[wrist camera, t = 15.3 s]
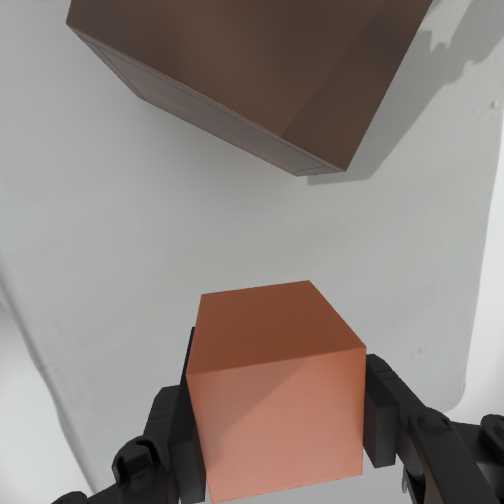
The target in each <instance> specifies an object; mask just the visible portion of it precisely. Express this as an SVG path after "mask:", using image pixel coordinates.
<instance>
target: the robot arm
mask: <svg viewBox="0 0 504 504" xmlns="http://www.w3.org/2000/svg"><path fill="white" fill-rule="evenodd" d="M194 330H195V327H192V330H191V335H190V339H189V344H188V349H187V353H186V358H185V362H184V367H183V372H182V376H181V381H180V385H175V386H169V387H163V388H162V389H161V390H160V391H159V393H158V394H157V395H156V397H155V398H154V401H153V405H152V408H151V411H150V414H149V417H148V421H147V423H146V426H145V430H144V433H143V435H142V436H138V437H136V438H134V439H132V440H130V441H129V442H127V443H126V444H125V445H124V446H123V447H122V448H121V449H120V450H119V451H118V453H117V455H116V456H115V458H114V460H113V464H112V467H111V468H112V471H113V474H114V477H115V480H116V483H115V484H113V485H112V486H110V487H109V488H107V489H105V490H103V491H101V492H99V493H97V494H95V495H93V496H91V497H89V498H87V496H86V495H85V494H84V493H82V492H81V491H76V492H75V491H74V492H70V493H68V494H65V495H63V496H61V497H60V498H58V499H57V500H56V501H54V502H53V503H52V504H178V503H179V496H180V500H181V504H194V503H199V502H204V501H205V489H206V471H205V466H204V461H203V456H202V451H201V446H200V441H199V436H198V431H197V426H196V421H195V417H194V413H193V408H192V403H191V398H190V393H189V388H188V383H187V378H186V371H187V366H188V361H189V356H190V351H191V346H192V341H193V335H194ZM363 447H364V449H365V451H366V453H367V455H368V457H369V458H370V460H371V462H372V464H373V466H374V468H380V467H385V466H391V465H395V459H396V453H397V454H398V456H399V458H400V459H401V461H402V462H403V464H404V468H403V478H402V490H403V493H406V491H407V487H408V490H409V493H410V496H411V499H412V502H413V504H504V416H501V415H493V414H489V415H486V416H484V417H483V418H482V420H481V423H480V425H473V424H465V423H458V422H453V421H450V420H449V418H448V417H446V416H445V415H444V414H442V413H441V412H439V411H437V410H435V409H432V408H429V407H426V406H425V405H424V404H423V403H422V402H421V401H420V400H419V399H418V397H417V396H416V395H415V394H414V393H413V392H412V391H411V390H410V389H409V387H408V386H407V385H406V384H405V383H404V382H403V381H402V380H401V378H399V376H398V375H397V374H396V373H395V372H394V371H392V368H391V367H390V366H389V365H388V364H387V363H386V362H385V361H384V360H383V359H381V358H380V357H378V356H376V355H375V354H368V355H366V373H365V396H364V426H363Z"/></svg>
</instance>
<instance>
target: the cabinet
mask: <svg viewBox="0 0 504 504" xmlns="http://www.w3.org/2000/svg"><path fill="white" fill-rule="evenodd" d="M432 1H433V0H71V4H70V8H69V12H68V16H67V20H66V24H67V25H68V26H69V27H70V29H71V30H72V31H73V32H74V33H75V34H76V35H78V37H79V38H80V39H81V40H82V41H83V42H84V43H85V44H86V45H87V46H88V47H89V48H90V49H91V50H92V51H93V52H94V53H95V54H96V55H97V56H98V57H99V58H100V59H101V60H102V61H103V62H104V63H105V64H106V65H107V66H108V67H109V68H110V69H111V70H112V71H113V72H114V73H115V74H116V75H117V76H118V77H119V78H120V79H121V80H122V81H123V82H124V83H125V84H126V85H127V86H128V87H129V88H130V89H131V90H132V91H133V92H134V94H135V95H136V96H137V97H139V98H141V99H143V100H145V101H147V102H149V103H151V104H153V105H155V106H157V107H159V108H161V109H163V110H165V111H167V112H169V113H171V114H173V115H175V116H177V117H179V118H181V119H183V120H185V121H187V122H189V123H191V124H193V125H195V126H197V127H199V128H201V129H203V130H205V131H207V132H209V133H211V134H213V135H215V136H217V137H219V138H221V139H223V140H225V141H227V142H229V143H231V144H233V145H235V146H237V147H239V148H241V149H243V150H245V151H247V152H249V153H251V154H253V155H255V156H257V157H259V158H261V159H263V160H265V161H267V162H269V163H271V164H273V165H275V166H277V167H279V168H281V169H283V170H285V171H287V172H289V173H291V174H293V175H295V176H307V175H317V174H326V173H336V172H345V171H346V170H347V168H348V166H349V164H350V162H351V160H352V158H353V156H354V155H355V153H356V151H357V149H358V147H359V145H360V143H361V141H362V139H363V137H364V135H365V133H366V131H367V129H368V127H369V125H370V123H371V121H372V119H373V117H374V115H375V113H376V111H377V109H378V107H379V105H380V103H381V101H382V99H383V97H384V95H385V93H386V91H387V89H388V87H389V86H390V84H391V82H392V80H393V78H394V76H395V74H396V72H397V70H398V68H399V66H400V64H401V62H402V60H403V58H404V56H405V54H406V52H407V50H408V48H409V46H410V44H411V42H412V40H413V38H414V36H415V34H416V32H417V30H418V28H419V26H420V24H421V22H422V20H423V18H424V16H425V15H426V13H427V11H428V9H429V7H430V5H431V3H432Z"/></svg>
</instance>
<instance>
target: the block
mask: <svg viewBox="0 0 504 504" xmlns="http://www.w3.org/2000/svg"><path fill="white" fill-rule="evenodd" d="M365 373H366V346H365V344H364V343H363V342H362V341H361V340H360V339H359V337H358V336H357V335H356V334H355V333H354V332H353V331H352V329H351V328H350V327H349V326H348V325H347V324H346V322H345V321H344V320H343V319H342V318H341V317H340V315H339V314H338V313H337V312H336V311H335V310H334V308H333V307H332V306H331V305H330V304H329V303H328V301H327V300H326V299H325V298H324V297H323V296H322V295H321V293H320V292H319V291H318V290H317V289H316V288H315V286H314V285H313V284H312V283H311V282H310V281H309V280H308V281H300V282H292V283H285V284H277V285H269V286H262V287H254V288H246V289H239V290H231V291H224V292H216V293H208V294H202V295H201V300H200V305H199V310H198V315H197V320H196V325H195V330H194V335H193V341H192V346H191V351H190V356H189V361H188V366H187V371H186V378H187V383H188V388H189V393H190V398H191V403H192V408H193V413H194V417H195V421H196V426H197V431H198V436H199V441H200V446H201V451H202V456H203V461H204V466H205V471H206V478H207V483H208V488H209V493H210V498H211V502H212V503H213V504H214V503H219V502H224V501H229V500H234V499H240V498H244V497H250V496H255V495H260V494H265V493H271V492H275V491H281V490H286V489H291V488H296V487H302V486H306V485H311V484H317V483H322V482H327V481H332V480H338V479H343V478H348V477H353V476H358V475H361V474H362V460H363V426H364V396H365Z"/></svg>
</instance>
